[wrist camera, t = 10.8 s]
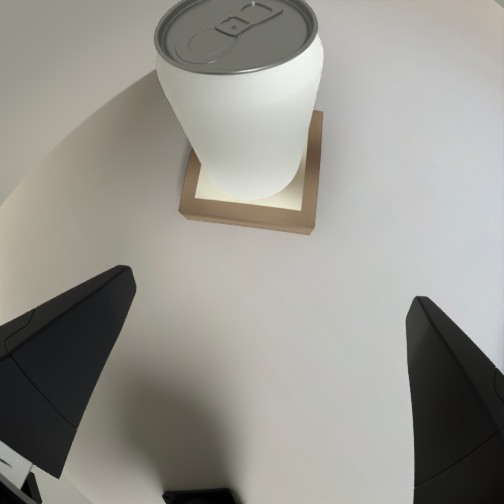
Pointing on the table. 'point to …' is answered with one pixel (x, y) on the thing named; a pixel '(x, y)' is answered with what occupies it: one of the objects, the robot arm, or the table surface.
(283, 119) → the can
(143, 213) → the table surface
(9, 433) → the robot arm
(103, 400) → the table surface
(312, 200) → the block
